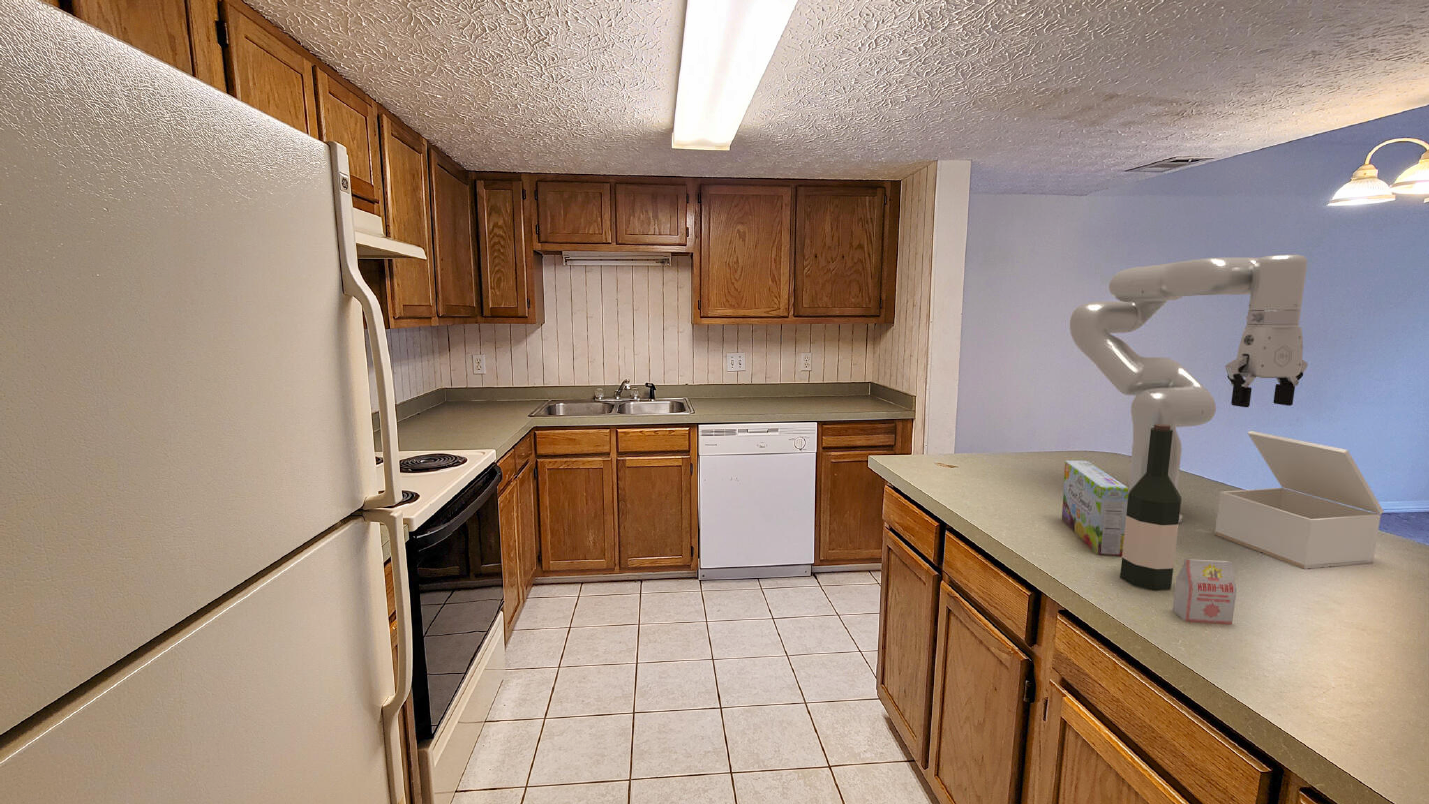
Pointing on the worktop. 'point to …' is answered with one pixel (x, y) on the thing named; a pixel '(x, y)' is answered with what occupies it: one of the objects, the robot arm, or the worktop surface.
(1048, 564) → the worktop surface
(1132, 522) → the wine bottle
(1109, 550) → the snack box
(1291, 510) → the carton
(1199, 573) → the white and red packet
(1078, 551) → the worktop surface
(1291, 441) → the carton lid
